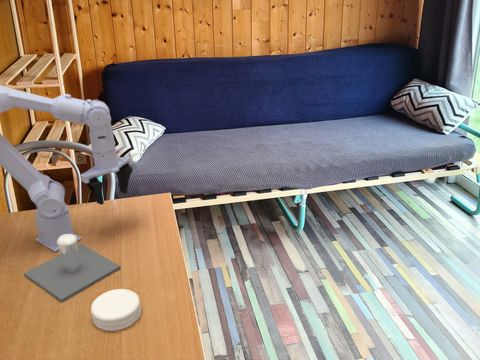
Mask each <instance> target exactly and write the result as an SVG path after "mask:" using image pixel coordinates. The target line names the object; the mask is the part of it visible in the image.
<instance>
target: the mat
mask: <svg viewBox="0 0 480 360" xmlns="http://www.w3.org/2000/svg"><path fill="white" fill-rule="evenodd" d="M78 256H79V265H80V268H79V270H78V271H76V272H73V273H68V272H66V270H65V267H64V264H63V260H62V257H61V254H59V255H56V256H55V257H53V258H51V259H49V260H47V261H45V262H43V263H41V264H40V265H37V266H35V267H33V268H31V269H29V270H27V271H25V272H24V273H23V274H24V277H26V278H27V279H28V280H29V281H31V282H33V283H34V284H35V285H37V286H38V287H39V288H41V289H42V290H44V291H45V292H46V293H48V294H50V295H51V296H52V297H54V298H55V299H56V300H57V301H59V302H61V303H64V302H65V301H67V300H69V299H70V298H72V297H74V296H76V295H78V294H80V293H81V292H83V291H84V290H86V289H88V288H90V287H91V286H93V285H95V284H97V283H98V282H100V281H102V280H104V279H105V278H108V277H109V276H111V275H112V274H114V273H116V272H118V271H119V270H121V269H122V267H121V265H119V264H118V263H116V262H115V261H113V260H111V259H109V258H107V257H105V256H104V255H102V254H100V253H99V252H97V251H95V250H93V249H92V248H90V247H88V246H86V245H85V244H82V243H81V244H78Z"/></svg>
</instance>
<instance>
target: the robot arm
mask: <svg viewBox="0 0 480 360" xmlns="http://www.w3.org/2000/svg"><path fill="white" fill-rule="evenodd" d="M14 108H17V109H23V110H29V111H30V110H31V111H37V112H43V113H50V114H51V115H52V116H53V118H54V119H56V120H60V121H65V122H71V123H76V124H80V125H87V127H88V129H89V133H88V135H89V140H90V147H91V152H92V157H93V162H94V166H93V167H91V168H89V169H88V170H86V171H85V172H83V173H81V174H80V180H81V182H82V183H84V184H85V186H86V187H87V188H88V189H89V190H90V191H91V192H90V193H92V195H93V197H94V199H95V201H96V203H97V204H99V205H101V206H102V205H104V200H105V199H104V195H103V183H104V182H102V181H101V180H99V179H98V178H101V177H102V176H105V175H107V174H110V173H113V174H115V176H116V178H117V181H118V188H119V192H121V193H123V194H127V193H128V188H129V181H130V178H131V175H132V172H133V166H131V165H133V158H132V157H131V156H128V155H126V156H122V157H118V155H117V149H116V143H115V137H114V131H113V129H112V123H111V122H112V117H111V114H110V108H109V107H108V105H107V104H106V103H105V102H104V101H101V100H99V99H94V100H92V99H88V98H87V99H86V100H85V99H80V98H75V97H72V95H71V94H68V93H65V94H64V95H60V94H59V95H58V96H56V97H54V98H50V97H46V96H42V95H38V94H35V93H32V92H27V91H24V90H19V89H15V88H11V87H7V86H4V85H1V84H0V114H2V113H5V112H7V111H8V110H11V109H14ZM0 166H1V168H3V169H4V171H6V172H7V174H9V175H10V176H12V178H14V180H16V182H18V183H19V184H20V185H21V186H22V187H23V188H24V189H25V190H26V191H27V193H28V196H29V197H30V200H31V202H33V203H34V204H35V206H36V209H37V210H36V211H35V215H34V220H35V225H36V231H37V233H38V237H36V238H35V241H36V242H38V243H39V244H41V245H43V246H44V247H46V248H47V249H49V250H51V251H53V252H58V251H59V248H58V245H57V240H58V238H59V237H60V236H61V235H64V234H73V235H75V236H76V237H77V236H78V237H77V242H79V241H81V240H82V237H81V236H79V234H76V233H74V229H73V224H72V219H71V212H70V209H69V205H68V204H66V202H65V194H66V189H65V187H64V186H63V184H61V182H58V181H55V180H53V179H51V178H50V176H48V175H46V174H42V173H41V172H40V171H39V170H38V169H37V167H35V166H34V165H33V164H32V163H31V162H30V161H29V160H28V159H27V158H26V157H25V156H24V155H23V154H22V153H21V152H20V151H19V150H18V149H17V148H16V147H15V146H14V145H13V144H12V143H11V142H10V141H9V140H8V139H7V138H5V136H4V135H2V134H1V133H0Z"/></svg>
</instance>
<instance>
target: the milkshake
mask: <svg viewBox="0 0 480 360" xmlns="http://www.w3.org/2000/svg"><path fill="white" fill-rule="evenodd" d="M77 235H78V236H79V232H78V233H77ZM78 236H77V237H78ZM77 237H76V236H75V235H73V234H64V235H61V236H60V237H59V238H58V240H57V245H58V248H59V250H58V251H59V255H61V257H62V260H63V264H64V267H65V270H66V272H68V273H73V272H76V271H78V270H79V268H80V265H79V256H78V246H79V243H78V241H77Z"/></svg>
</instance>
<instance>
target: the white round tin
mask: <svg viewBox="0 0 480 360" xmlns="http://www.w3.org/2000/svg"><path fill="white" fill-rule="evenodd" d="M90 313H91V317H92V321H93V324H94V326H95V327H97V328H98V329H99V330H102V331H106V332H117V331H123V330H124V329H127V328H129V327H131V326H132V325H133V324H135V323H136V322H137V321H138V320H139V318H140V317H141V314H142V306H141V299H140V297H139V295H138V294H137V293H136V292H135V291H133V290H129V289H125V288H117V289H111V290H109V291H105V292H103V293H102V294H100V295H99V296H97V297H96V298H95V299H94V301H93V302H92V303H91V307H90Z"/></svg>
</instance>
